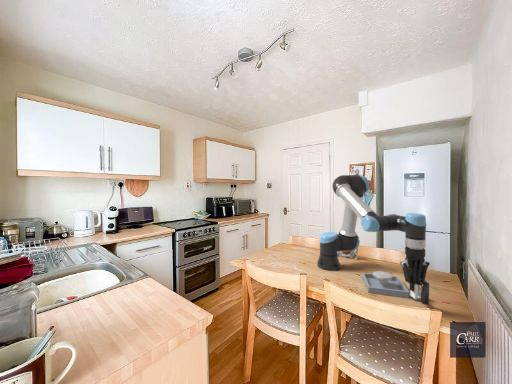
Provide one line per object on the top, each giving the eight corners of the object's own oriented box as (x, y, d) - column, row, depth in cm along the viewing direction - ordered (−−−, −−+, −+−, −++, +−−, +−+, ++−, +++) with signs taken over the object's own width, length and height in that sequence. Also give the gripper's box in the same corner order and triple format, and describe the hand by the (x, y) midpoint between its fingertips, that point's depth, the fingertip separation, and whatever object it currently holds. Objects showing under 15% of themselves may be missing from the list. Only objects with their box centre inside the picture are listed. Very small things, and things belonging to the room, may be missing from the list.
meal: (336, 256, 169) (336, 240, 168) (337, 255, 172) (337, 239, 172) (356, 261, 160) (356, 243, 159) (357, 259, 163) (358, 242, 163)
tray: (368, 292, 114) (368, 287, 114) (362, 277, 132) (362, 272, 132) (409, 298, 109) (409, 292, 109) (397, 281, 127) (397, 276, 127)
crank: (411, 291, 110) (411, 271, 110) (420, 293, 109) (421, 272, 109) (422, 305, 99) (422, 282, 98) (432, 306, 97) (433, 284, 97)
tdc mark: (442, 302, 104) (442, 301, 104) (440, 301, 106) (440, 300, 106) (449, 303, 104) (449, 302, 104) (448, 302, 105) (448, 301, 105)
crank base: (412, 300, 106) (413, 297, 106) (408, 294, 112) (408, 291, 112) (427, 302, 104) (427, 298, 104) (421, 296, 110) (422, 292, 110)
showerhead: (397, 275, 116) (380, 276, 116) (397, 288, 117) (380, 289, 116) (385, 269, 126) (369, 269, 125) (385, 281, 126) (369, 282, 125)
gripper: (408, 250, 94) (407, 302, 95) (435, 249, 95) (434, 300, 96) (395, 245, 102) (395, 293, 103) (421, 244, 103) (420, 292, 104)
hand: (414, 297), depth 100 cm, fingers closed
